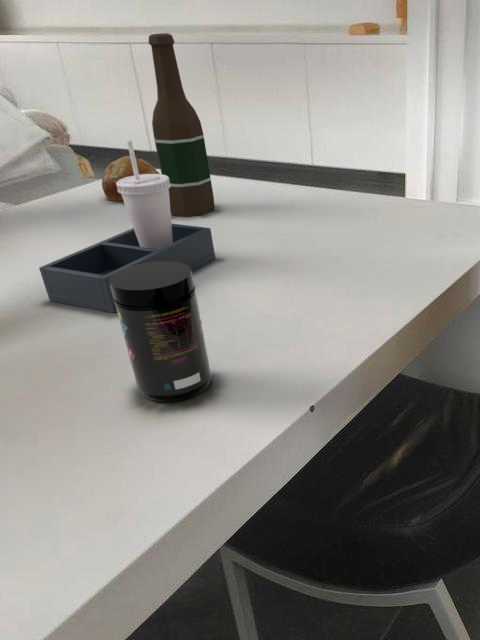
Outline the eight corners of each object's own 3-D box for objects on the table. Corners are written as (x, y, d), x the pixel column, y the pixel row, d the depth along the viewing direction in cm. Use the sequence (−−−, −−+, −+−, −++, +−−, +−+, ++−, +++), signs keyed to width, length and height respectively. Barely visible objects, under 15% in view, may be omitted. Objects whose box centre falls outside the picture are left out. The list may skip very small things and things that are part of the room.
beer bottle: (182, 220, 106) (147, 37, 92) (159, 211, 111) (122, 35, 97) (225, 209, 110) (198, 32, 96) (200, 201, 115) (171, 31, 101)
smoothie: (131, 255, 90) (103, 139, 82) (179, 248, 92) (156, 133, 84) (138, 270, 85) (109, 148, 77) (189, 262, 87) (166, 141, 79)
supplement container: (187, 362, 66) (164, 255, 60) (228, 384, 62) (207, 272, 56) (124, 388, 63) (93, 277, 57) (163, 413, 59) (134, 296, 53)
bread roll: (151, 206, 127) (130, 163, 125) (180, 187, 120) (158, 140, 118) (107, 220, 121) (84, 174, 118) (135, 200, 114) (111, 151, 111)
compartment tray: (49, 300, 81) (38, 267, 79) (156, 250, 95) (150, 220, 93) (114, 312, 77) (104, 278, 75) (215, 258, 91) (210, 227, 89)
